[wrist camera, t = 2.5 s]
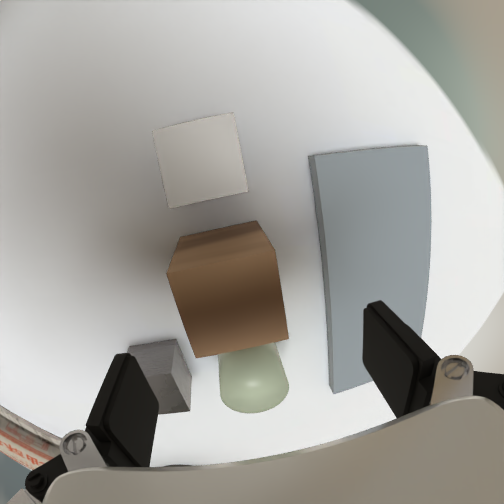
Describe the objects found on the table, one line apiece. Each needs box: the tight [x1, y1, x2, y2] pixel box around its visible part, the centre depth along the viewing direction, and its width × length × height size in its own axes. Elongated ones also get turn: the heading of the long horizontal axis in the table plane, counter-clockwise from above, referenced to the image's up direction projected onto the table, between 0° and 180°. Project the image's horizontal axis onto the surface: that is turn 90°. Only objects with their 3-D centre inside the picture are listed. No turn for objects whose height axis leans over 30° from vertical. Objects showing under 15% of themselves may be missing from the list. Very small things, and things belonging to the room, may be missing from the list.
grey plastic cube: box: [152, 112, 249, 209], centre depth 15 cm, size 4×4×4 cm
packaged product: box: [0, 406, 62, 470], centre depth 23 cm, size 18×5×10 cm
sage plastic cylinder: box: [218, 342, 289, 413], centre depth 20 cm, size 4×4×5 cm
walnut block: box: [166, 221, 289, 358], centre depth 17 cm, size 5×5×6 cm
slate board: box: [308, 145, 431, 394], centre depth 21 cm, size 20×9×1 cm, turn 11°
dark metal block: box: [127, 339, 192, 414], centre depth 20 cm, size 4×4×4 cm
